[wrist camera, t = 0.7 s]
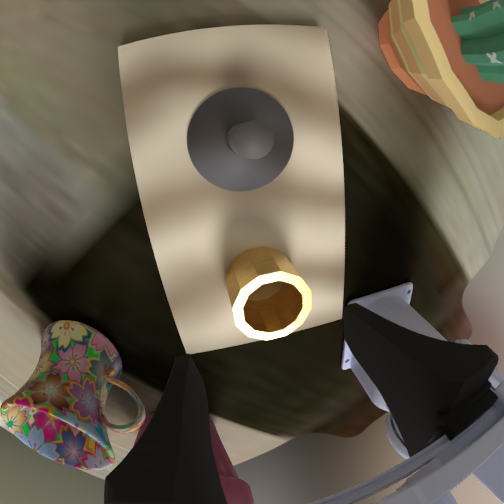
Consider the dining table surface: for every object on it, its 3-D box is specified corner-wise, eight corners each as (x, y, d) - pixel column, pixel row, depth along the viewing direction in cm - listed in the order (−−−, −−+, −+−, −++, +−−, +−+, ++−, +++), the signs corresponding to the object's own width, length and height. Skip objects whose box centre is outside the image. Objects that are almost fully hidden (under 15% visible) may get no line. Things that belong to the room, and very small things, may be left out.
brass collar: (293, 298, 22) (311, 328, 19) (231, 312, 22) (240, 346, 18) (289, 240, 20) (310, 264, 17) (220, 254, 20) (227, 282, 16)
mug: (68, 384, 23) (47, 464, 14) (26, 316, 19) (-21, 397, 10) (167, 376, 25) (168, 472, 15) (134, 298, 21) (108, 405, 11)
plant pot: (146, 454, 31) (148, 529, 19) (100, 400, 25) (86, 499, 13) (243, 443, 33) (262, 522, 21) (224, 386, 27) (247, 498, 15)
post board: (336, 311, 25) (362, 345, 21) (186, 345, 24) (188, 389, 19) (319, 32, 16) (354, 9, 11) (121, 51, 14) (100, 26, 9)
